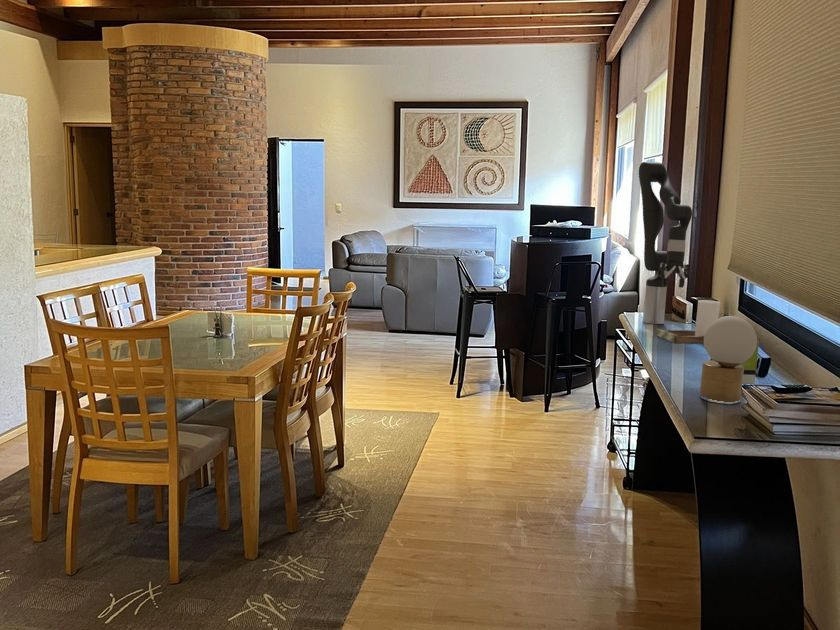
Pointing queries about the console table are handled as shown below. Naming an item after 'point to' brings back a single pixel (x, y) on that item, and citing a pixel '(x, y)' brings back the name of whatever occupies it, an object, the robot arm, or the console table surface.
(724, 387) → the lamp
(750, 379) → the tea box
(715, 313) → the cup
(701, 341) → the bay
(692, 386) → the console table surface
